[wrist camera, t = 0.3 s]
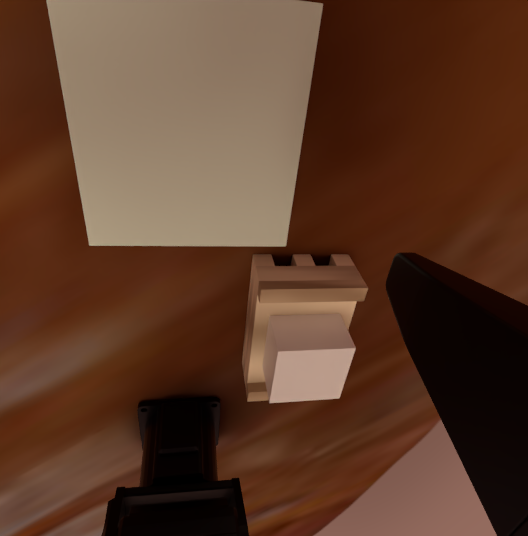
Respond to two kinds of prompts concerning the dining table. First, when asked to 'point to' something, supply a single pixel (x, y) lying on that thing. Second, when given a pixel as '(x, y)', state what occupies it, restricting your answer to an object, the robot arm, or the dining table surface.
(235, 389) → the dining table surface
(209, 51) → the dock
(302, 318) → the pale pink square block
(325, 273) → the castle tower
